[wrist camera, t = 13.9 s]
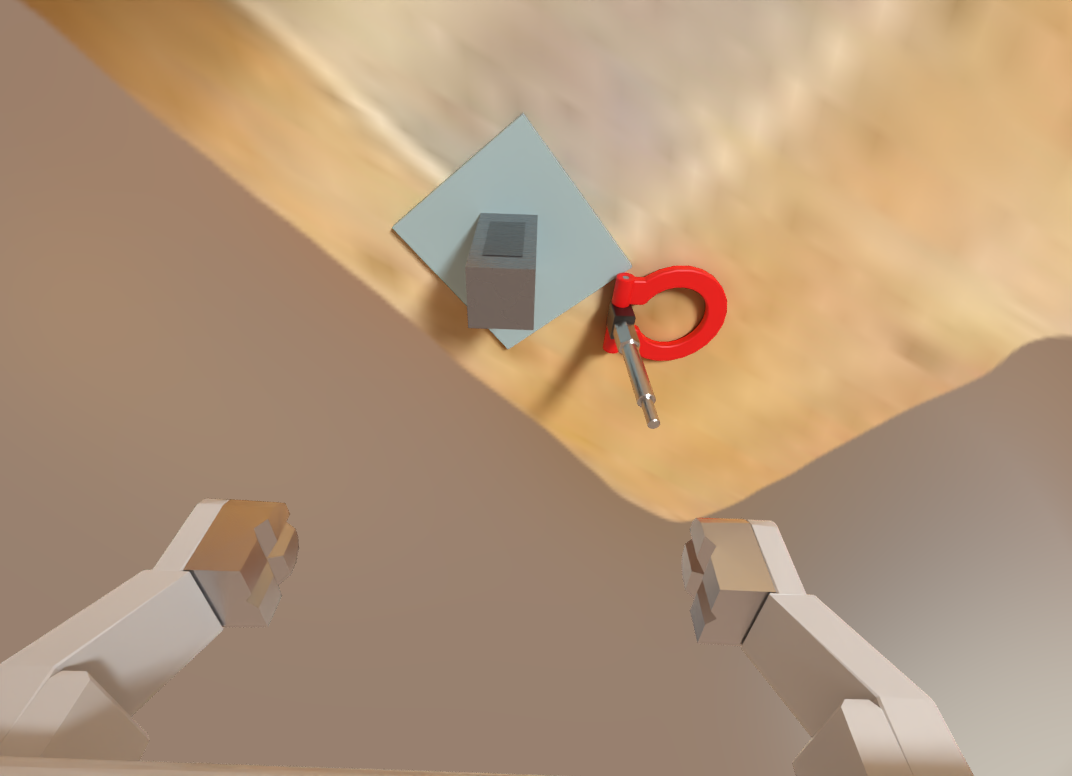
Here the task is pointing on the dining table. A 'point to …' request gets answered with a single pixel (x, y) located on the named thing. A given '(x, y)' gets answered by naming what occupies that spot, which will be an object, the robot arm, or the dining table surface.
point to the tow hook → (636, 345)
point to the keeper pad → (517, 188)
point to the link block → (502, 272)
